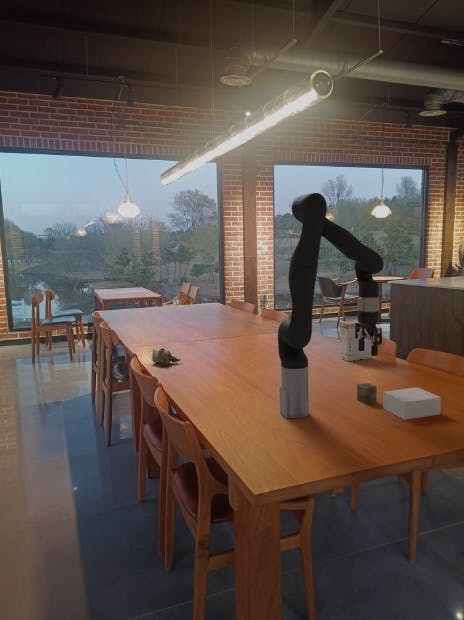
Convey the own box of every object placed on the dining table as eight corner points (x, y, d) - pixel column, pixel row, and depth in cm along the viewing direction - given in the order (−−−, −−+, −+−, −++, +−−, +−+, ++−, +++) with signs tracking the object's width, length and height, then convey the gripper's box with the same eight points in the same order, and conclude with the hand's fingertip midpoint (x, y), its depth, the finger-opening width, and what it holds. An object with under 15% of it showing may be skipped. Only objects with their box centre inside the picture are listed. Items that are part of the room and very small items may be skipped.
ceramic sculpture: (160, 344, 248) (181, 348, 240) (160, 359, 250) (181, 364, 241) (145, 348, 240) (166, 352, 231) (146, 364, 241) (167, 369, 233)
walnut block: (364, 404, 170) (364, 388, 170) (357, 400, 175) (357, 384, 174) (376, 402, 172) (376, 386, 171) (368, 398, 176) (368, 383, 176)
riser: (404, 419, 154) (404, 402, 153) (383, 408, 165) (383, 391, 164) (440, 414, 157) (440, 397, 157) (416, 403, 169) (417, 387, 168)
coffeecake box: (364, 355, 244) (365, 318, 241) (373, 358, 237) (373, 320, 234) (339, 358, 239) (339, 321, 237) (347, 361, 232) (347, 323, 230)
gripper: (349, 307, 175) (348, 350, 177) (370, 312, 161) (369, 358, 163) (366, 306, 177) (366, 348, 179) (389, 311, 163) (388, 356, 165)
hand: (367, 353), depth 171 cm, fingers open, 8 cm apart
